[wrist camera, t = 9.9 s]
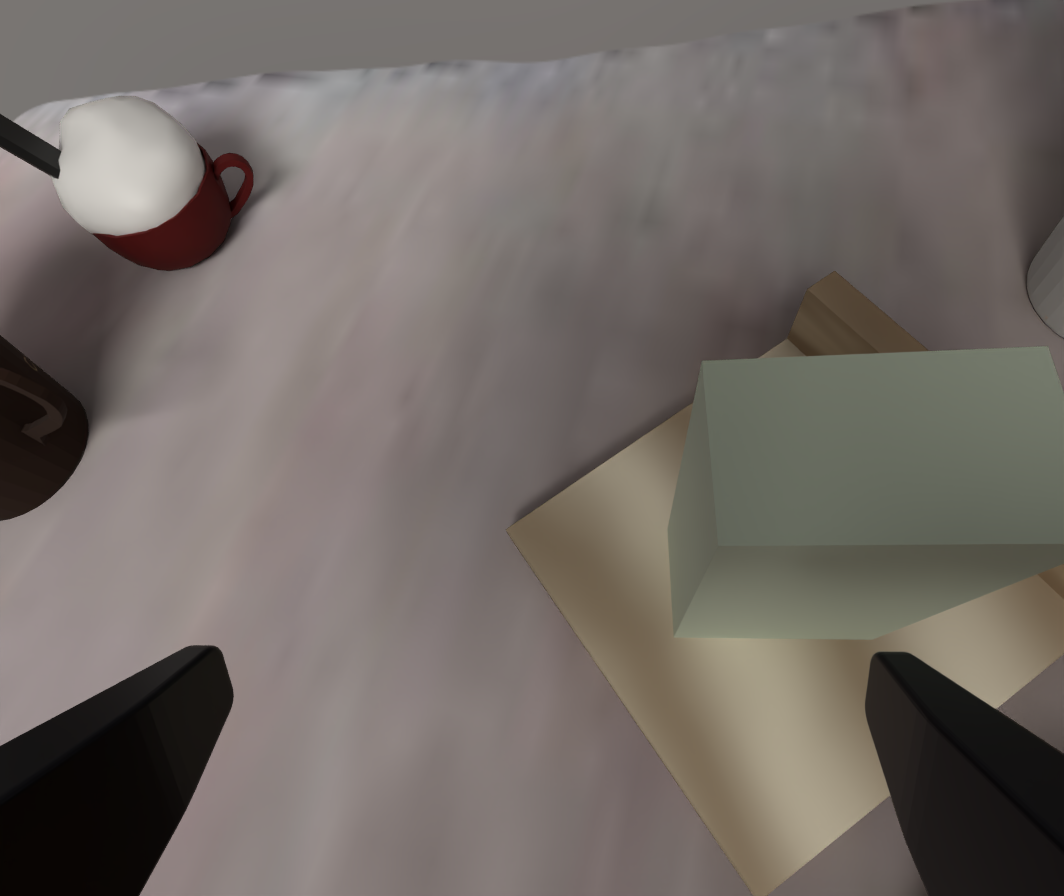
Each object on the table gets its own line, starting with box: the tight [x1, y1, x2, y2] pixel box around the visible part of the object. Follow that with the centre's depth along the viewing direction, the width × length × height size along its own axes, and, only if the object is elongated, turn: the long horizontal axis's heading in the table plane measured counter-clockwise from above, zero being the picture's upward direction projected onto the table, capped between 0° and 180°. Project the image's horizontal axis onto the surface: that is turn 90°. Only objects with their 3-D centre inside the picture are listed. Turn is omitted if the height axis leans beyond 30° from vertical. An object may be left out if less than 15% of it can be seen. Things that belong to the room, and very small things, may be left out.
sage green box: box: [667, 346, 1064, 640], centre depth 16 cm, size 4×6×11 cm, turn 89°
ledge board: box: [506, 271, 1064, 896], centre depth 20 cm, size 14×13×4 cm
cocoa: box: [0, 96, 253, 271], centre depth 27 cm, size 10×6×12 cm, turn 86°
